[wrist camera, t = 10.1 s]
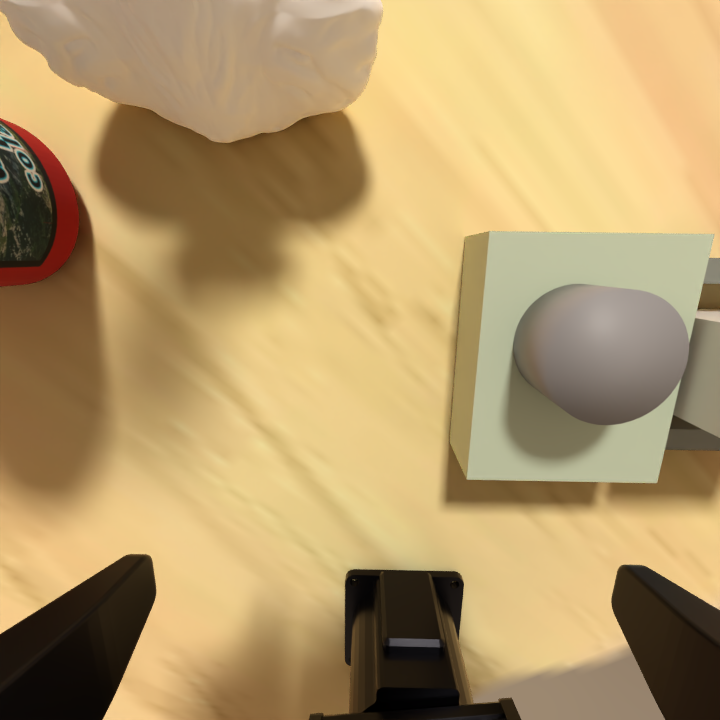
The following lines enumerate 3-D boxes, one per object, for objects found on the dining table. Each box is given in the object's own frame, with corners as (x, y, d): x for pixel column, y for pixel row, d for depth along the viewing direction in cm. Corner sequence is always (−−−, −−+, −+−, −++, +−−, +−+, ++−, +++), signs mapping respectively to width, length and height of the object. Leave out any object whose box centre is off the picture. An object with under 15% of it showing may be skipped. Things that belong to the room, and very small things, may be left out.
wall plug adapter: (725, 446, 20) (887, 531, 14) (449, 442, 20) (486, 523, 14) (782, 240, 17) (1012, 230, 11) (465, 236, 17) (520, 224, 11)
